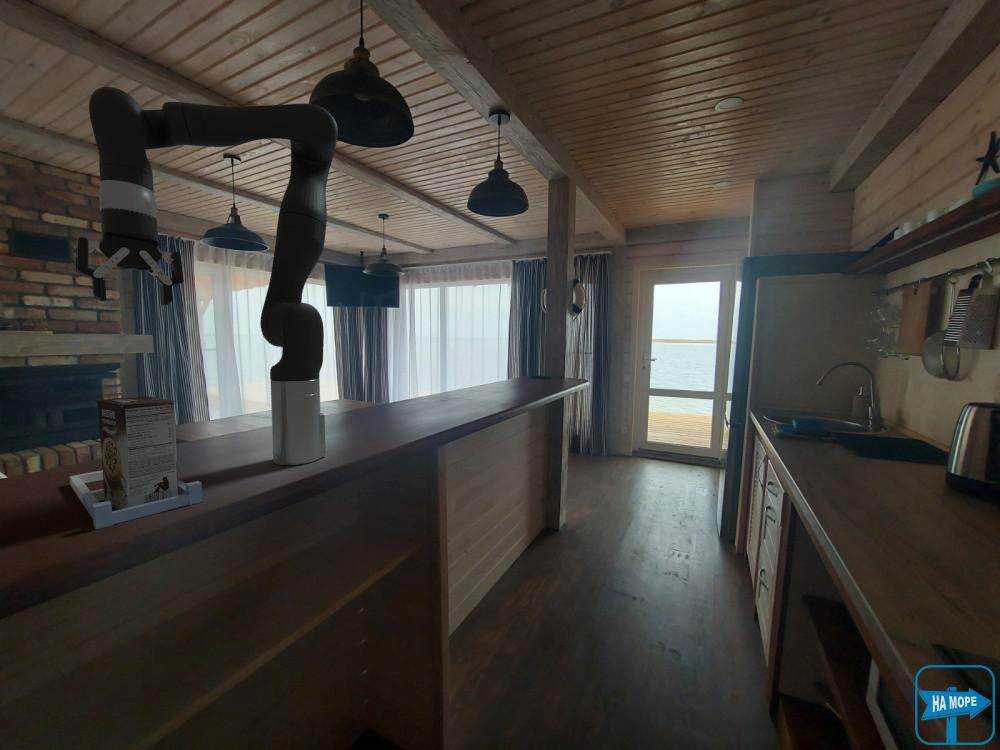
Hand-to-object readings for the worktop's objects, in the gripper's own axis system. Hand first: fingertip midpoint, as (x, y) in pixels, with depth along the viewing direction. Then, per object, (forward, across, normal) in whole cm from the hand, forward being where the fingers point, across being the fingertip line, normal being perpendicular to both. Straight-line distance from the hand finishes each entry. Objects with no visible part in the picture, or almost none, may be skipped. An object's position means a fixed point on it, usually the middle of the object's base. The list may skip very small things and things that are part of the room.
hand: (135, 303), depth 72 cm
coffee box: (+32, +4, +18) cm, 37 cm away
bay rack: (+32, +4, +12) cm, 34 cm away
